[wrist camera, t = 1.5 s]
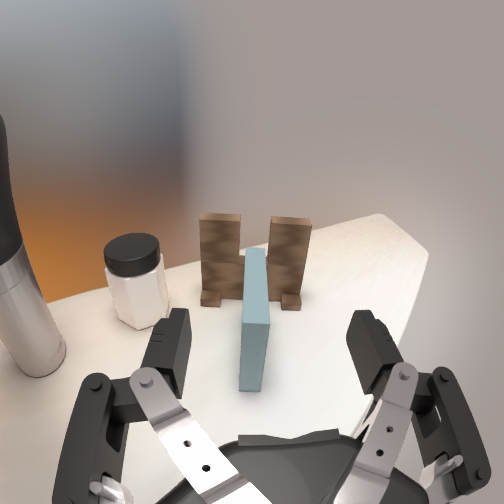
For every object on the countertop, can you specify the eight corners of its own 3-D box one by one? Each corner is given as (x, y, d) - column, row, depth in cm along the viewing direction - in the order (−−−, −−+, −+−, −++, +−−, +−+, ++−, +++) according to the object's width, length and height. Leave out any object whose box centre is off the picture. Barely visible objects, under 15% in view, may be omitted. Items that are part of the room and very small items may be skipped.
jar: (128, 293, 45) (114, 231, 39) (172, 294, 45) (164, 230, 40) (113, 329, 37) (92, 262, 31) (164, 332, 38) (151, 263, 32)
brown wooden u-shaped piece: (200, 305, 44) (196, 226, 37) (206, 280, 50) (204, 207, 43) (299, 310, 44) (315, 232, 37) (294, 284, 50) (306, 213, 43)
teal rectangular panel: (259, 391, 30) (269, 323, 24) (239, 391, 30) (242, 322, 24) (258, 315, 42) (264, 248, 36) (242, 314, 42) (245, 247, 36)
